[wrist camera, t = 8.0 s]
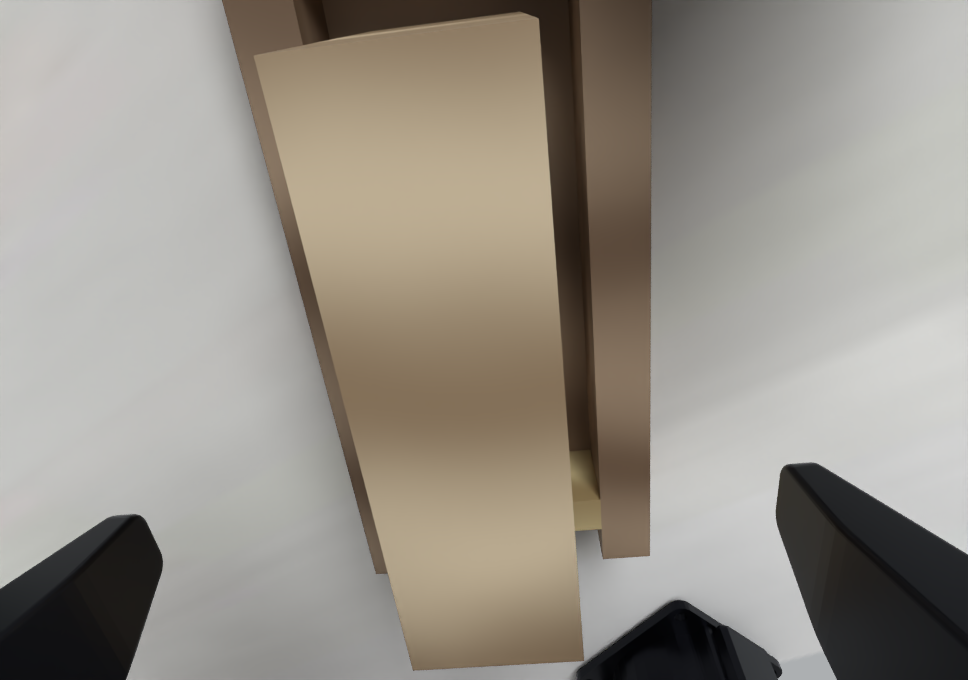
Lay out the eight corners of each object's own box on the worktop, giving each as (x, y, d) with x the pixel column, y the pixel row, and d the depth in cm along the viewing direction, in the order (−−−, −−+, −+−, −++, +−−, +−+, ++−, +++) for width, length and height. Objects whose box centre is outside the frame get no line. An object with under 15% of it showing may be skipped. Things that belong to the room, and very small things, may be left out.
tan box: (553, 414, 21) (586, 660, 13) (444, 424, 22) (410, 670, 14) (521, 11, 16) (543, 17, 8) (373, 30, 16) (249, 55, 8)
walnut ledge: (643, 483, 24) (665, 554, 21) (379, 502, 25) (361, 574, 21) (642, -201, 15) (680, -256, 12) (220, -137, 15) (149, -172, 12)
